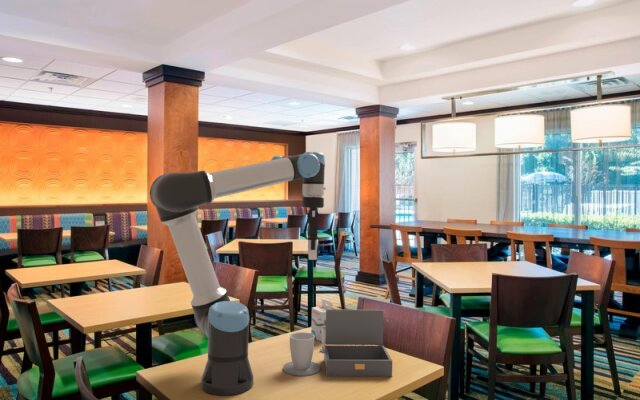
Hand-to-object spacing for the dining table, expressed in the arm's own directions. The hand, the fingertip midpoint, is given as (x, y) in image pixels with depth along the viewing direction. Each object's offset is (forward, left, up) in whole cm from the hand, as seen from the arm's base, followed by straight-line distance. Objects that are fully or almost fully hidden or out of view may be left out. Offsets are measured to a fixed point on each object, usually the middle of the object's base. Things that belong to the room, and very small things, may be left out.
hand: (311, 256), depth 165 cm
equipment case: (+15, -12, -35) cm, 40 cm away
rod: (+8, +4, -35) cm, 36 cm away
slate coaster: (-3, -13, -35) cm, 37 cm away
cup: (-3, -13, -34) cm, 37 cm away
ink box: (+5, +19, -35) cm, 40 cm away
